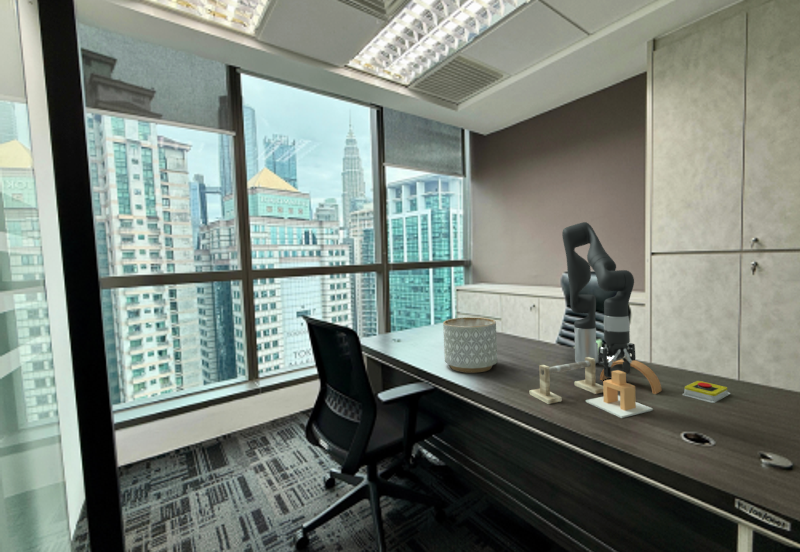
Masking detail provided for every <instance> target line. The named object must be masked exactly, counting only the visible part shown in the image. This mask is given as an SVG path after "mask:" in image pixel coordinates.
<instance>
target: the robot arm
mask: <svg viewBox="0 0 800 552" xmlns="http://www.w3.org/2000/svg"><path fill="white" fill-rule="evenodd" d="M561 233H562V241H563V247H564V252H565V256H566V257H565V259H566V267H567V270H566V271H567V277H568V283H569V284H568V286H569V296H570V297H569V298H570V299H569V301H570V303H569V304H570V310H571V311H572V312H573V313H574V314H587V316H585V317H584V318H579V319H577V320H575V321H574V323H573V327H574V328H573V329H574V360H575V362H574V363H576V362H582V361H585V358H586V357H590V358H594V359H595V365H596V364H598V365H600V366H601V365H602V366H603V369H604V375H605V376H606V377H609V378H612V371H613V368H612V369H611V365H612V363H613V362H615V361H617V359H618V360H619V359H622V360H623V361H624V362H623V364H622V372H626V375H627V374H628V375H629V374H631V367H632V366H631V362H632V361H633V360H634V361H635V360H636V357H637V356H636V347H635V346H636V344H635V343H632V342H631V339H630V336H631V335H630V333H631V331H630V330H631V329H630V327H631V326H630V320H629V319H630V318H629V317H630V316H629V303H630V298H631V296H632V292H633V288H634V285H635V277H634V275H633V273H631V271H629V270H624V269H622V270H617V264H616V263H615V261H614V260H613V258H612V257H611V256H610V255H609V254H608V252H607V251H606V250H605V248H604V247H603V245H602V242H601V241H600V239H599V237H598V236H597V234H596V232H595V230H594V228H593V227H592V226H591V224H590V223H589V222H587V221H586V222H585V221H584V222H583V221H582V222H579V223H576V224H572V225H570V226H567V227H565V228H563V229H562V231H561ZM588 244H589V249H588V251H587V255H586V258H587V260H586V259H585V258H583V257H582V256H581V255H579V254H578V252H577V251H576V250H575V249H576V248H579V247H582V246H585V245H588ZM591 270H593V271H594V273H595V277H596V282H597V285H598V287H599V288H600V289H601V290H602V291H604V292H616V294H615V295H614V296H613V297H608V298H606V299H605V300H604V301H603V302H604V303H603V307H604V308H603V309H604V310H603V314H604V317H603V341H604V342H605V343H606V345H605V347H604V346H603V347H602V346H599V344H598V342H597V325H596V323H597V322H596V311H597V310H596V308H597V300H596V296H595V295H594V294H584V293H583V294H580V292H581V291H582V290H583V289H585V287H586V286H587V285H588V284H589V283H590V282H591V281H590V280H591V278H592V273H591ZM609 378H608V379H609Z"/></svg>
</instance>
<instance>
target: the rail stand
mask: <svg viewBox="0 0 800 552" xmlns="http://www.w3.org/2000/svg"><path fill="white" fill-rule="evenodd" d="M538 367H539V368H538V369H539V388H536V389H531V390H530V389H529V395H530V396H532V397H534V398H536V399H538V400H539V401H542V402H543V403H546V404H547V405H551V404H555V403H559V402H562V398H563V397H562V396H560V395H558V394H556V393H553V392H552V391H551V381H550V378H551V376H550V375H551V374H556V373H557V374H558V373H563V372H567V371H572V370H579V369H584V372H585V373H584V378H585V379H581V380H575V381H574V386H575V387H577V388H579V389H583V390H585V391H587V392H590V393H591V394H594V395H595V394H596V395H597V394H602V393H603V385H602V384H599V383H596V381H597V380H596V379H597V378H596V364H595V359H594V358H590V357H586V358H585V361H582V362H571V363H565V364H559V365H553V366H549V365H545V364H541V365H540V364H539V365H538Z"/></svg>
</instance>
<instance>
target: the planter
mask: <svg viewBox="0 0 800 552" xmlns="http://www.w3.org/2000/svg"><path fill="white" fill-rule="evenodd" d="M442 325H443V326H442V329H443V331H442V332H443V347H444V348H443V349H444V352H443V353H444V362H445V364H447V365H448V366H449V367H450V368H451V369H452V370H453V371H456V372H461V373H468V374H470V373H471V374H472V373H473V374H475V373H477V374H478V373H484V372H488V371H490V370H491V369H492V367H493V366H495V365H496V364H497V363H498V344H497V343H498V341H497V322H496V320H495V319H492V318H487V317H478V316H477V317H473V316H472V317H470V316H469V317H455V318H449V319H446V320H444V321H443V322H442Z"/></svg>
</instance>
